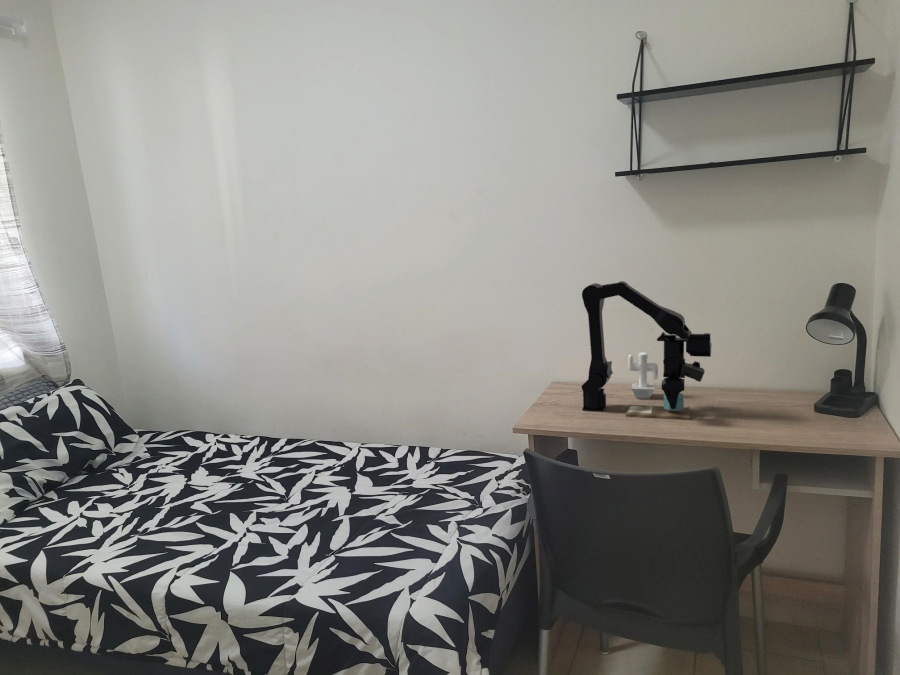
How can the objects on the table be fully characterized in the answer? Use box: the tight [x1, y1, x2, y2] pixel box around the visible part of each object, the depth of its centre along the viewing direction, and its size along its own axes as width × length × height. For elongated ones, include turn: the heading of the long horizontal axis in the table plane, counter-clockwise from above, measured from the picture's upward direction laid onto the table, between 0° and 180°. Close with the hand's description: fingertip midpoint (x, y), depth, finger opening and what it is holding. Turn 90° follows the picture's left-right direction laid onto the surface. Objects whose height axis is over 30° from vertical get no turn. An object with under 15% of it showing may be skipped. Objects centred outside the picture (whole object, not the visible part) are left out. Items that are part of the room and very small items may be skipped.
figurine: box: [627, 351, 659, 400], centre depth 206 cm, size 7×9×15 cm
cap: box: [663, 392, 685, 411], centre depth 186 cm, size 6×6×4 cm
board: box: [625, 404, 691, 421], centre depth 188 cm, size 18×10×5 cm, turn 69°
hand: (673, 406), depth 187 cm, fingers closed on cap, 6 cm apart
